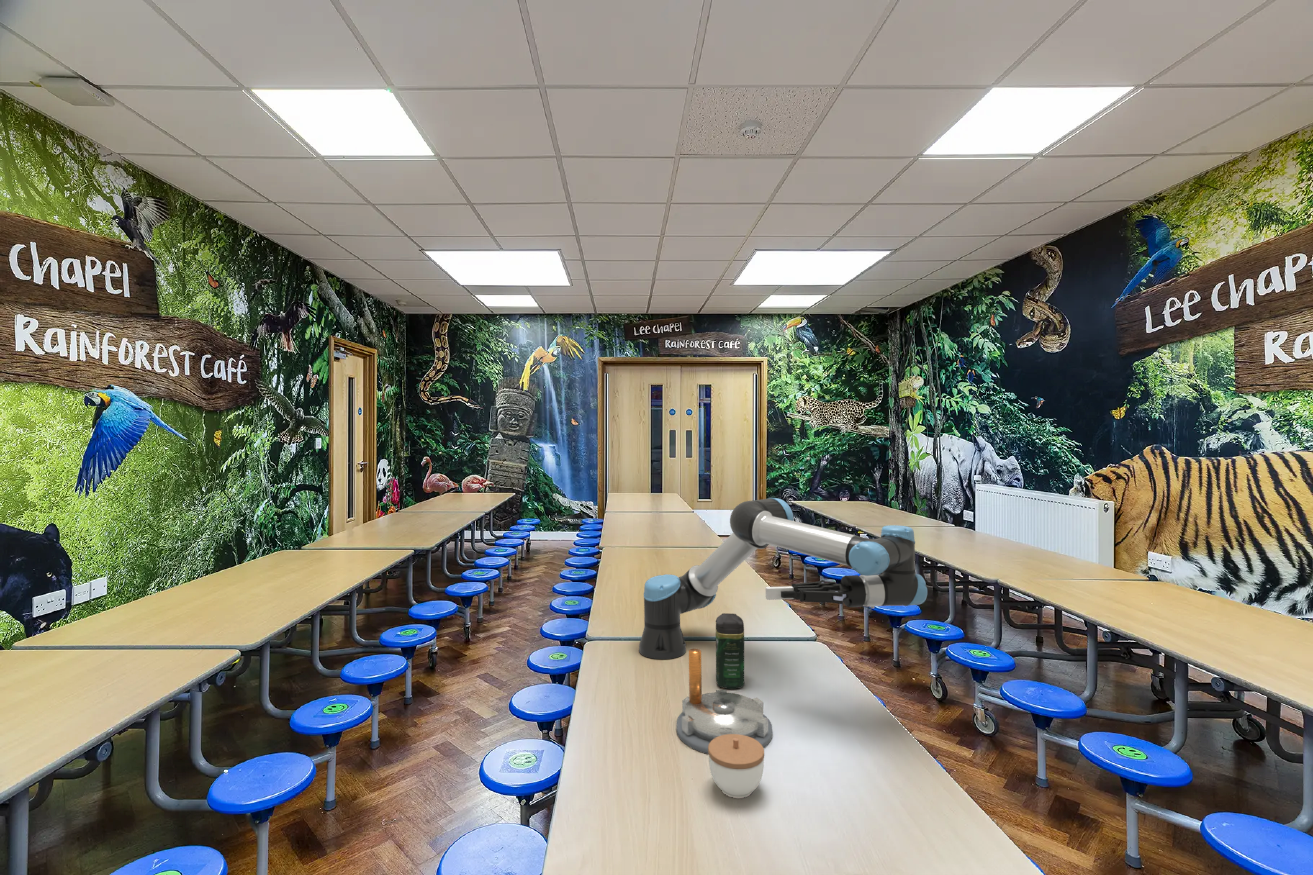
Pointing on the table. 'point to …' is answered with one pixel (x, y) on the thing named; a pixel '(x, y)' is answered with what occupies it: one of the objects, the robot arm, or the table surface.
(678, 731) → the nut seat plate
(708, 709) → the lugged metal dome
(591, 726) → the table surface
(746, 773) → the lidded jar
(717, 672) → the coffee jar
